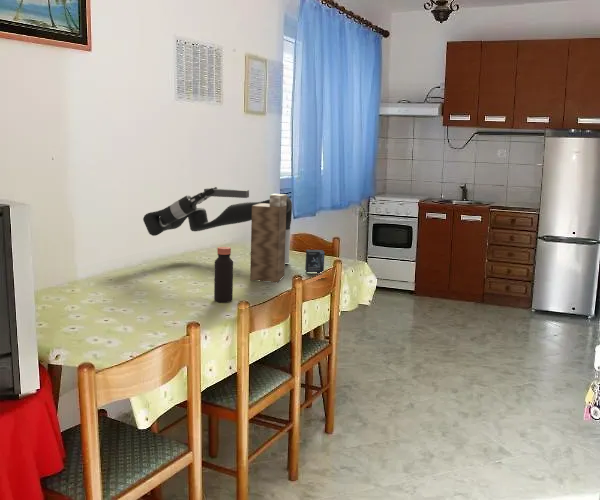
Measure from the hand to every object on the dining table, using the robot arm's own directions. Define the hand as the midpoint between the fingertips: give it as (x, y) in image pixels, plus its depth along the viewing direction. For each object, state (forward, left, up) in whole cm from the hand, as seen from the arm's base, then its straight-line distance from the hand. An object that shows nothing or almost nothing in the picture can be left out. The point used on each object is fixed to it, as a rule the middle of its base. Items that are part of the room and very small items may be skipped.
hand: (215, 189), depth 276 cm
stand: (+20, +14, -37) cm, 45 cm away
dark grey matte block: (+4, +3, -3) cm, 6 cm away
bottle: (+40, -23, -38) cm, 59 cm away
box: (+23, +39, -38) cm, 59 cm away
